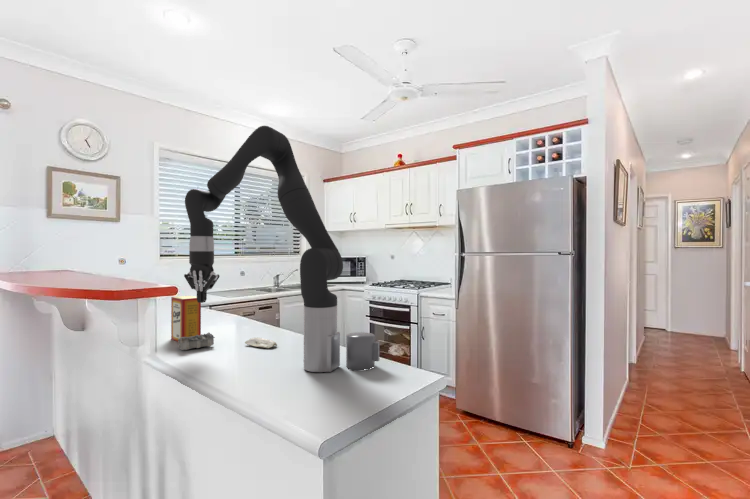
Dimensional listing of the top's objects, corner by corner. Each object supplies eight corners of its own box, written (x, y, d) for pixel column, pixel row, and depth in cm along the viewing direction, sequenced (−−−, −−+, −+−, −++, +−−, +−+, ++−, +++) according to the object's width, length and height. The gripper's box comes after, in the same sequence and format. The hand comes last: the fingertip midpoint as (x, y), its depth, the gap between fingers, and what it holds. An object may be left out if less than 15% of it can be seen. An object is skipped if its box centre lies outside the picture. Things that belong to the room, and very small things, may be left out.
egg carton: (180, 351, 126) (179, 338, 126) (177, 347, 132) (176, 335, 132) (215, 345, 132) (215, 333, 132) (211, 342, 138) (210, 330, 138)
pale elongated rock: (242, 343, 134) (249, 332, 137) (250, 349, 138) (256, 339, 140) (268, 349, 128) (274, 338, 131) (275, 356, 132) (282, 345, 134)
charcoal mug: (382, 365, 113) (383, 333, 113) (374, 373, 106) (374, 339, 106) (352, 362, 116) (352, 331, 116) (341, 369, 109) (341, 337, 109)
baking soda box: (171, 339, 145) (171, 296, 145) (189, 336, 150) (189, 294, 150) (182, 343, 139) (182, 298, 139) (200, 340, 144) (200, 296, 144)
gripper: (226, 250, 133) (225, 301, 133) (194, 250, 137) (194, 300, 137) (210, 250, 125) (209, 304, 125) (177, 250, 130) (176, 302, 130)
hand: (201, 302), depth 131 cm, fingers closed
